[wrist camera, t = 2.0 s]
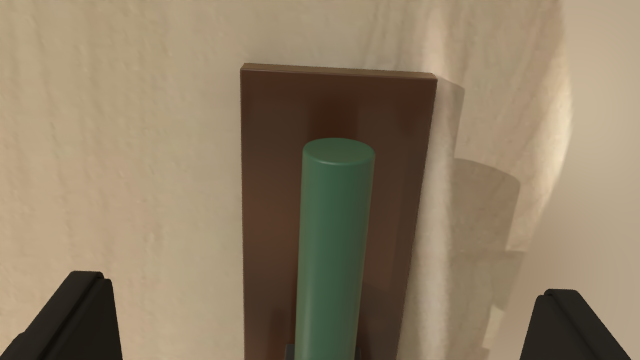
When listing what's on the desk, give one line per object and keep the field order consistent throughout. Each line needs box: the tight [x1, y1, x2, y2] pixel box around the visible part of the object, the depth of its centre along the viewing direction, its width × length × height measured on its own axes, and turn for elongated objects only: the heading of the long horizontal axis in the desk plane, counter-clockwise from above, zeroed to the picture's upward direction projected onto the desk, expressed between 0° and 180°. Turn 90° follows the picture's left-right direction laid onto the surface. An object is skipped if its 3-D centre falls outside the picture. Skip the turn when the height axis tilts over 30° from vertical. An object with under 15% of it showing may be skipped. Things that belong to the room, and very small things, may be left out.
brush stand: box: [240, 63, 438, 360], centre depth 20 cm, size 21×7×6 cm, turn 177°
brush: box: [284, 138, 375, 360], centre depth 18 cm, size 15×4×3 cm, turn 177°
